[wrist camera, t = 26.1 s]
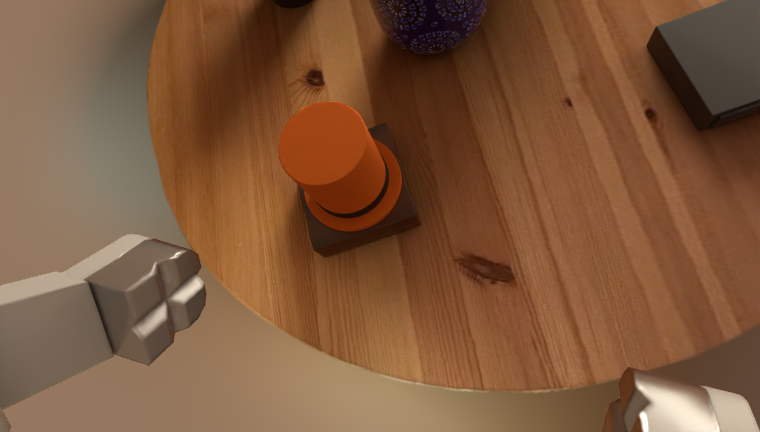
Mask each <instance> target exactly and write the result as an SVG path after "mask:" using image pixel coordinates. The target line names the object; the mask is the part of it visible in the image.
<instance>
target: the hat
mask: <svg viewBox="0 0 760 432" xmlns="http://www.w3.org/2000/svg"><path fill="white" fill-rule="evenodd" d="M279 158H280V162H281V164H282V167H283V169H284V170H285V172H286V173H287V174H288V175H289V176H290V177H291V178H292V179H293V180H294V181H295V182H296V183H297V184H298V185H299V186H301V187H302V188H303V189H304V194H305V199H306V203H307V205H308V207H309V209H310V211H311V212H312V214H313V215H314V216H315V217H316V218H317V219H318V220H319V221H320V222H322V223H323V224H324V225H326V226H328V227H330V228H332V229H335V230H339V231H345V232H353V231H360V230H363V229H367V228H369V227H371V226H373V225H375V224H377V223H378V222H380V221H381V220H382V219H384V218H385V217H386V216H387V215H388V214H389V212H390V211H391V210H392V209H393V207H394V206H395V204H396V202H397V200H398V198H399V195H400V191H401V186H402V176H401V170H400V167H399V164H398V162H397V159H396V158H395V156H394V154H393V153H392V152H391V151H390V149H388V148H387V147H386V146H385V145H384V144H382V143H381V142H379V141H377V140H375V139H372V137H371V135H370V133H369V131H368V129H367V127H366V125H365V123H364V121H363V120H362V118H361V116H360V115H359V114H358V113H357V112H356V111H355V110H354V109H352V108H351V107H349V106H347V105H345V104H342V103H339V102H333V101H326V102H319V103H315V104H312V105H310V106H307V107H305V108H304V109H302V110H301V111H299V112H298V113H297V114H295V115H294V116H293V117H292V118H291V120H290V121H289V122H288V123H287V125H286V126H285V128H284V130H283V132H282V134H281V137H280V141H279Z"/></svg>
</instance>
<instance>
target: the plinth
mask: <svg viewBox="0 0 760 432" xmlns="http://www.w3.org/2000/svg"><path fill="white" fill-rule="evenodd" d="M368 131H369V133H370V135H371V137H372V139H375V140H377V141H379V142H381V143H382V144H384V145H385V146H386V147H387V148H388V149H390V151H391V152H392V153H393V154H394V156H395V158H396V159H397V162H398V164H399V167H400V170H401V176H402V186H401V191H400V195H399V198H398V200H397V202H396V204H395V206H394V207H393V209H392V210H391V211H390V212H389V214H388V215H387V216H386V217H385V218H384V219H382V220H381V221H380V222H378V223H377V224H375V225H373V226H371V227H369V228H367V229H363V230H360V231H353V232H345V231H339V230H335V229H332V228H330V227H328V226H326V225H324V224H323V223H322V222H320V221H319V220H318V219H317V218H316V217H315V216H314V215H313V214H312V212H311V211H310V209H309V207H308V205H307V203H306V199H305V194H304V189H303V188H302V187H301V186H299V185H298V186H299V191H300V195H301V199H302V203H303V207H304V212H305V216H306V220H307V224H308V229H309V233H310V237H311V241H312V246H313V250H314V251H316V252H317V253H319V254H320V255H322V256H323V257H325V258H326V257H329V256H332V255H335V254H338V253H341V252H344V251H347V250H350V249H353V248H356V247H359V246H362V245H364V244H367V243H370V242H373V241H376V240H379V239H382V238H385V237H388V236H391V235H394V234H397V233H400V232H403V231H406V230H409V229H412V228H415V227H417V226H420V225H421V222H420V219H419V216H418V213H417V210H416V207H415V204H414V201H413V198H412V195H411V192H410V189H409V186H408V183H407V180H406V177H405V174H404V171H403V168H402V165H401V162H400V159H399V156H398V153H397V150H396V147H395V144H394V141H393V138H392V135H391V133H390V131H389V128H388V126H387V124H386V123H384V124H381V125H379V126H376V127H373V128H371V129H368Z"/></svg>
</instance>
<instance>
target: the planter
mask: <svg viewBox="0 0 760 432" xmlns="http://www.w3.org/2000/svg"><path fill="white" fill-rule="evenodd" d="M369 1H370V4H371V7H372V9H373V11H374V14H375V16H376V18H377V20H378V23H379V25H380V27H381V28H382V30H383V31H384V33H385V34H386V36H387V37H388V38H389V39H390V40H391V41H392V42H393V43H394V44H396V45H397V46H399V47H400V48H402V49H404V50H406V51H409V52H412V53H415V54H420V55H435V54H440V53H444V52H447V51H450V50H452V49H454V48H456V47H457V46H459V45H461V44H462V43H463V42H464V41H466V40H467V39H468V38H469V37H470V36H471V35H472V34H473V33H474V31H475V30H476V29H477V27H478V26H479V24H480V23H481V21H482V19H483V17H484V14H485V11H486V8H487V4H488V0H369Z"/></svg>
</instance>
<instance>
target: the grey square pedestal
mask: <svg viewBox="0 0 760 432" xmlns="http://www.w3.org/2000/svg"><path fill="white" fill-rule="evenodd" d="M647 47H648V49H649V50H650V52H651V53H652V55H653V57H654V58H655V60H656V62H657V63H658V65H659V67H660V68H661V70H662V71H663V73H664V75H665V76H666V78H667V80H668V81H669V83H670V85H671V86H672V88H673V90H674V91H675V93H676V94H677V96H678V98H679V99H680V101H681V103H682V104H683V106H684V108H685V109H686V111H687V112H688V114H689V116H690V117H691V119H692V121H693V122H694V124H695V126H696V127H697V129H698V130H699V131H700V130H703V129H706V128H709V127H711V128H714V127H717V126H719V125H722V124H725V123H728V122H731V121H734V120H737V119H740V118H743V117H746V116H749V115H752V114H755V113H758V112H760V0H726V1H724V2H721V3H718V4H715V5H713V6H710V7H707V8H705V9H702V10H699V11H696V12H694V13H691V14H688V15H686V16H683V17H680V18H677V19H675V20H672V21H669V22H667V23H664V24H661V25H659V26H656V28H655V30H654V32H653V34H652V36H651V38H650V40H649V42H648V44H647Z"/></svg>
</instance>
